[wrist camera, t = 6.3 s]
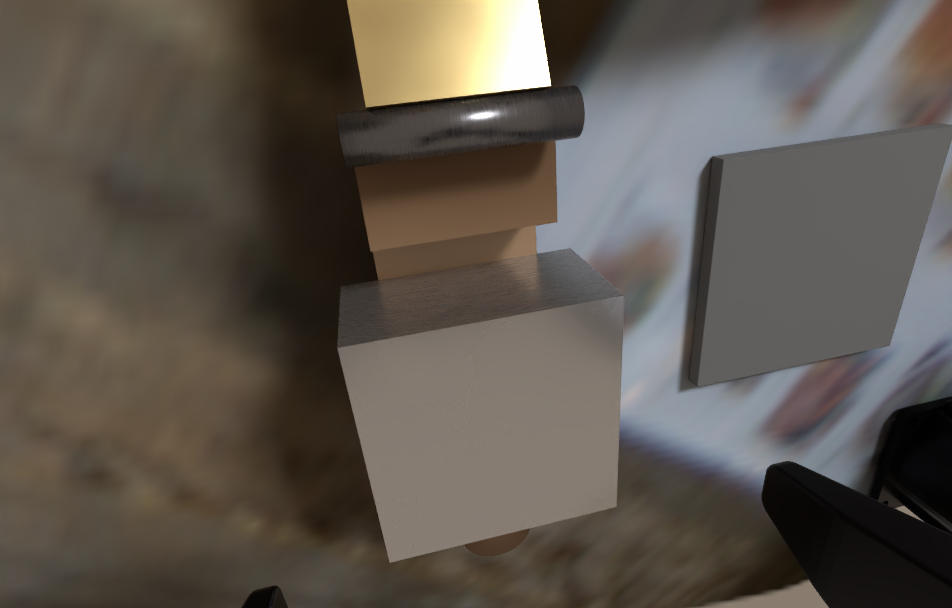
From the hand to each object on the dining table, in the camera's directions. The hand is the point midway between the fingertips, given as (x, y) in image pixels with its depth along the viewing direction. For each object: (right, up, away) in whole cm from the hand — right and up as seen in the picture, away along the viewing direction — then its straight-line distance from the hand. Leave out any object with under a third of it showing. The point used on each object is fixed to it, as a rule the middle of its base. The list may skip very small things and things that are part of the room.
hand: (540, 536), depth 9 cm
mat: (+12, +6, +11) cm, 17 cm away
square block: (-1, +2, +5) cm, 6 cm away
